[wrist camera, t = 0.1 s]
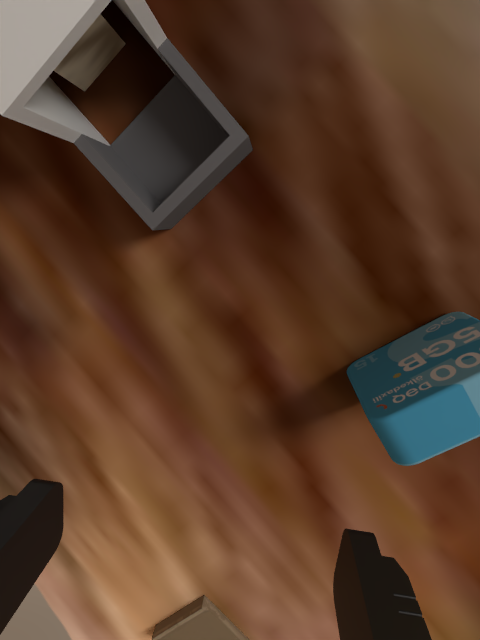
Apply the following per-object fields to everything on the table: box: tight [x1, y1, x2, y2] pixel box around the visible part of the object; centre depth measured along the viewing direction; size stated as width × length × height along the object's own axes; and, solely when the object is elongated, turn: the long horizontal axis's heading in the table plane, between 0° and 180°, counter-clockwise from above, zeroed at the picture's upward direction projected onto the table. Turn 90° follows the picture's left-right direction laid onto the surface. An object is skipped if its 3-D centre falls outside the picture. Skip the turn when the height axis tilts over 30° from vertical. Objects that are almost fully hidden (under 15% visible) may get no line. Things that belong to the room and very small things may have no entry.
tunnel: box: [0, 0, 174, 146], centre depth 28 cm, size 10×11×14 cm
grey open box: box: [74, 39, 253, 230], centre depth 33 cm, size 10×9×6 cm
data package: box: [347, 312, 480, 466], centre depth 34 cm, size 12×4×12 cm, turn 122°
